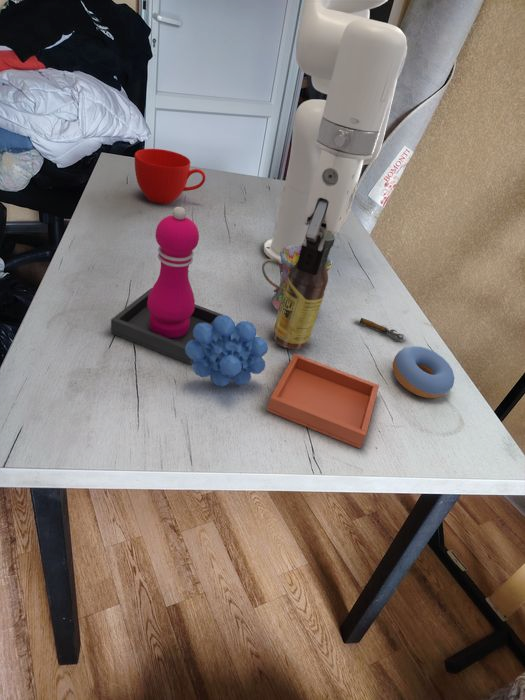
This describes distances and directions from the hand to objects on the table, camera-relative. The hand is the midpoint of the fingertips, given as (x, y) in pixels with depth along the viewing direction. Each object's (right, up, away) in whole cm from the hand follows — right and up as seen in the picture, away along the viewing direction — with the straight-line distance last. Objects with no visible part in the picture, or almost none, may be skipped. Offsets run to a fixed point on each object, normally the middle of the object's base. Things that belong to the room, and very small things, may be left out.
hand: (311, 263), depth 72 cm
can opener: (+15, -10, +17) cm, 24 cm away
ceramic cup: (-31, +24, +47) cm, 61 cm away
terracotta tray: (+1, -21, -2) cm, 21 cm away
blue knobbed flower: (-13, -19, -4) cm, 23 cm away
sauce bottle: (-3, -12, +9) cm, 15 cm away
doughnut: (+18, -18, +7) cm, 27 cm away
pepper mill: (-22, -10, +5) cm, 25 cm away
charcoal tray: (-22, -10, +5) cm, 25 cm away
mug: (-3, -5, +17) cm, 18 cm away
